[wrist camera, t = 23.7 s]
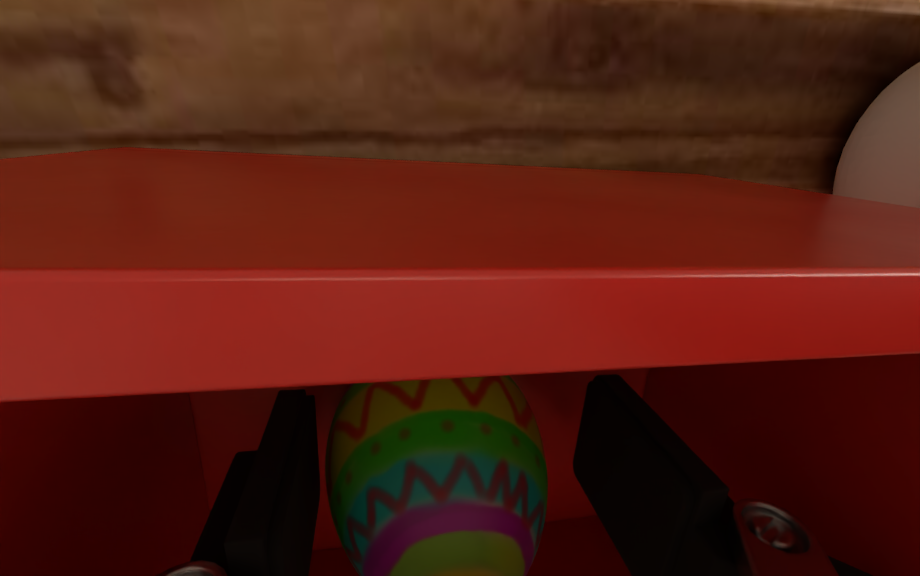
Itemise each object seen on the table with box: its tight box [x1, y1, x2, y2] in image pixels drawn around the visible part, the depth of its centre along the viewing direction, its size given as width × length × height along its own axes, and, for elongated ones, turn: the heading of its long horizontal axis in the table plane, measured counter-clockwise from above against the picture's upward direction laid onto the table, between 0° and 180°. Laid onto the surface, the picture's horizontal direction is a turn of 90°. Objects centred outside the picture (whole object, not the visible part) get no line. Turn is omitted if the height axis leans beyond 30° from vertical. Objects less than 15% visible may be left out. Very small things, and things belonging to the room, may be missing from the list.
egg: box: [325, 375, 548, 576], centre depth 10 cm, size 5×5×6 cm
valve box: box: [0, 147, 920, 576], centre depth 9 cm, size 15×13×9 cm
